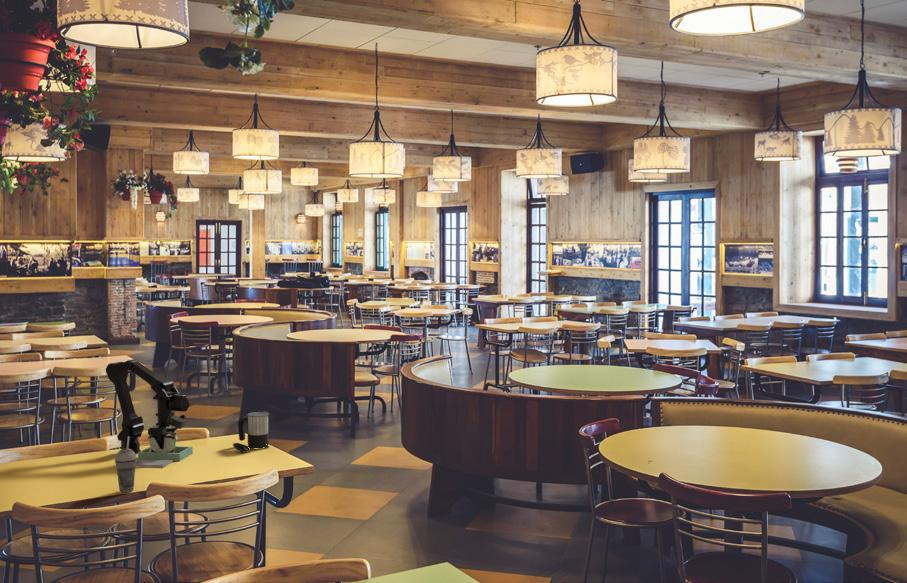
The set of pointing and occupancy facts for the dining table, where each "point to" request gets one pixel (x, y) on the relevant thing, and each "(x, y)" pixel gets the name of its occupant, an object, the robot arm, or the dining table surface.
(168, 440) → the food container
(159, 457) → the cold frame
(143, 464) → the slate tile
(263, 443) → the milk frother
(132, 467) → the beverage cup
